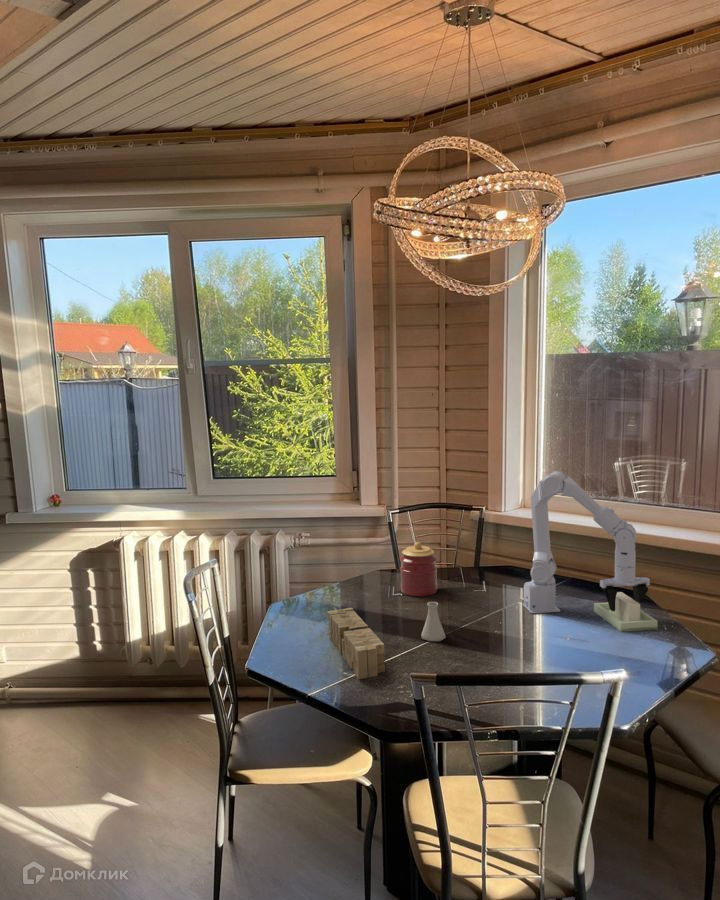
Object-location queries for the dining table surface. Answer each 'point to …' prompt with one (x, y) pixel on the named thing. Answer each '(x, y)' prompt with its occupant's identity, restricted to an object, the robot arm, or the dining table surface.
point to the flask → (433, 625)
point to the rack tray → (643, 624)
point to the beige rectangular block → (626, 608)
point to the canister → (418, 571)
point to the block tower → (356, 643)
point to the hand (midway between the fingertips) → (624, 609)
